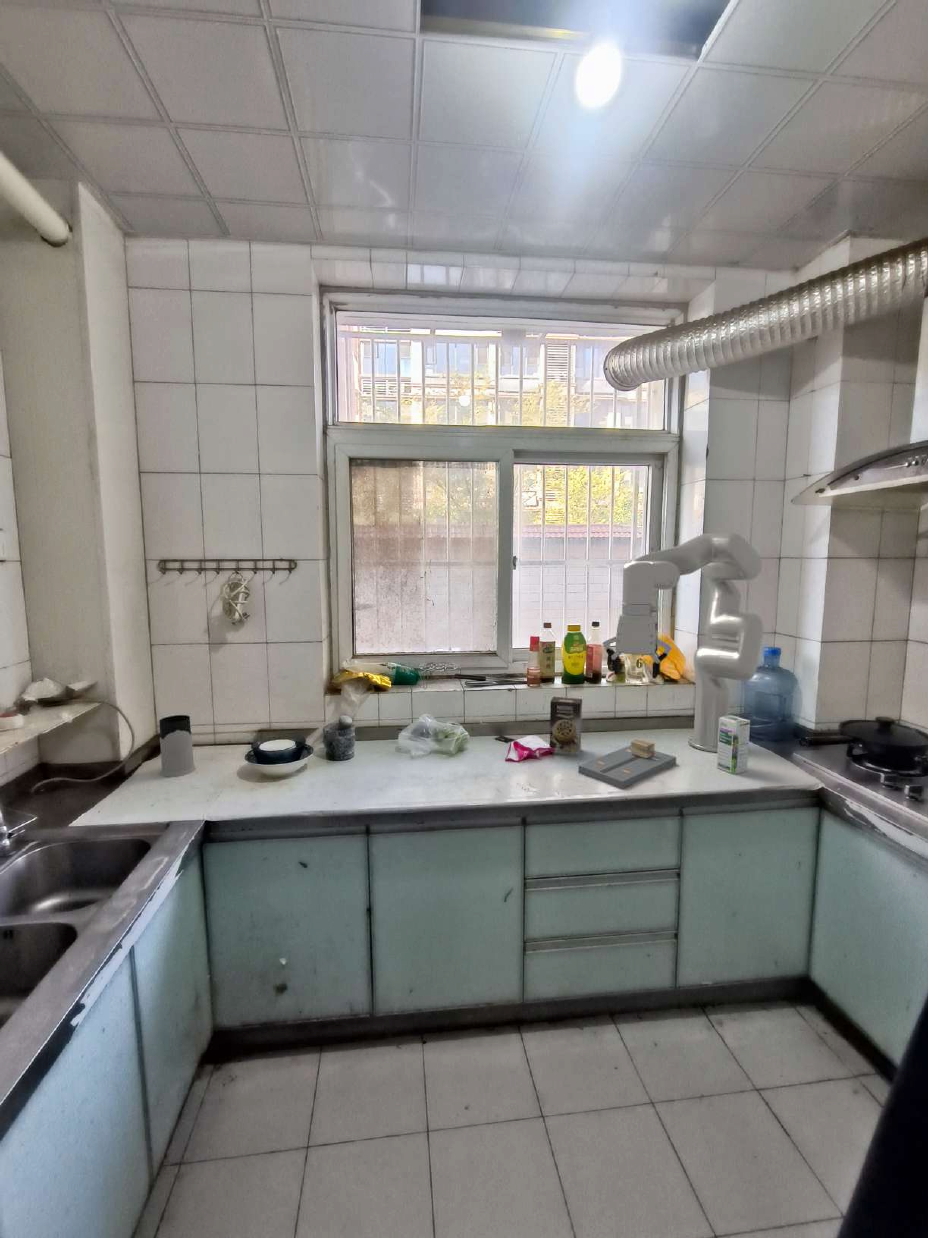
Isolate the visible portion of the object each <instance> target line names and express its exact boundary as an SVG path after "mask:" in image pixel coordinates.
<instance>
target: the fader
mask: <svg viewBox="0 0 928 1238" xmlns="http://www.w3.org/2000/svg"><path fill="white" fill-rule="evenodd" d="M655 743H656V742H652V741H649V740H645V739H641V738H637V739H635V740H632V741H631V743H630V745H631V754H634V755H637V756H640V757H644V758H648V757H651V756H653V755H654V751H655Z"/></svg>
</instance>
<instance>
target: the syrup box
mask: <svg viewBox="0 0 928 1238" xmlns="http://www.w3.org/2000/svg"><path fill="white" fill-rule="evenodd" d="M750 728H751V720H750V719H746V718H742V717H739V716H735V715H729V716H723V717H721V718H719V734H718V752H716V754H717V757H716V758H717V759H716V768H717V769H719V770H723V771H725V772H727V773H730V774H732V775H736V774H741V773H743V772H746V771H748V761H749V747H750V745H749V744H750Z"/></svg>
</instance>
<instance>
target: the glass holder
mask: <svg viewBox="0 0 928 1238" xmlns="http://www.w3.org/2000/svg"><path fill="white" fill-rule="evenodd" d="M191 729H192V728H191V717H190V715H186V714H178V715H176V714H175V715H169V716H165V717H162V718H161V719H159V733H160V734H159V735H160V736H159V743H160V757H161V758H160V760H161V771H160V776H161V777H162V778H163V777H164V778H176V777H181V776H185V775H188V774H191V773H193V772H194V771H195V770H196V766H195V764H194V763H195V762H194V750H193V749H194V748H193V735H192V730H191Z"/></svg>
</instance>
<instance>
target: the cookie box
mask: <svg viewBox="0 0 928 1238" xmlns="http://www.w3.org/2000/svg"><path fill="white" fill-rule="evenodd" d="M549 708H550V710H549V711H550V712H549V715H550V716H549V748H550V747H551V748H554V750H555V751H554V753H553V754H556V755H567V756H574V757H575V756H576V757H579V756H580V754H581V751H582V718H583V717H582V716H583V715H582V713H583V699H582V698H576V697H575V698H573V697H561V696H552V698H551V700H550V707H549Z"/></svg>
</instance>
